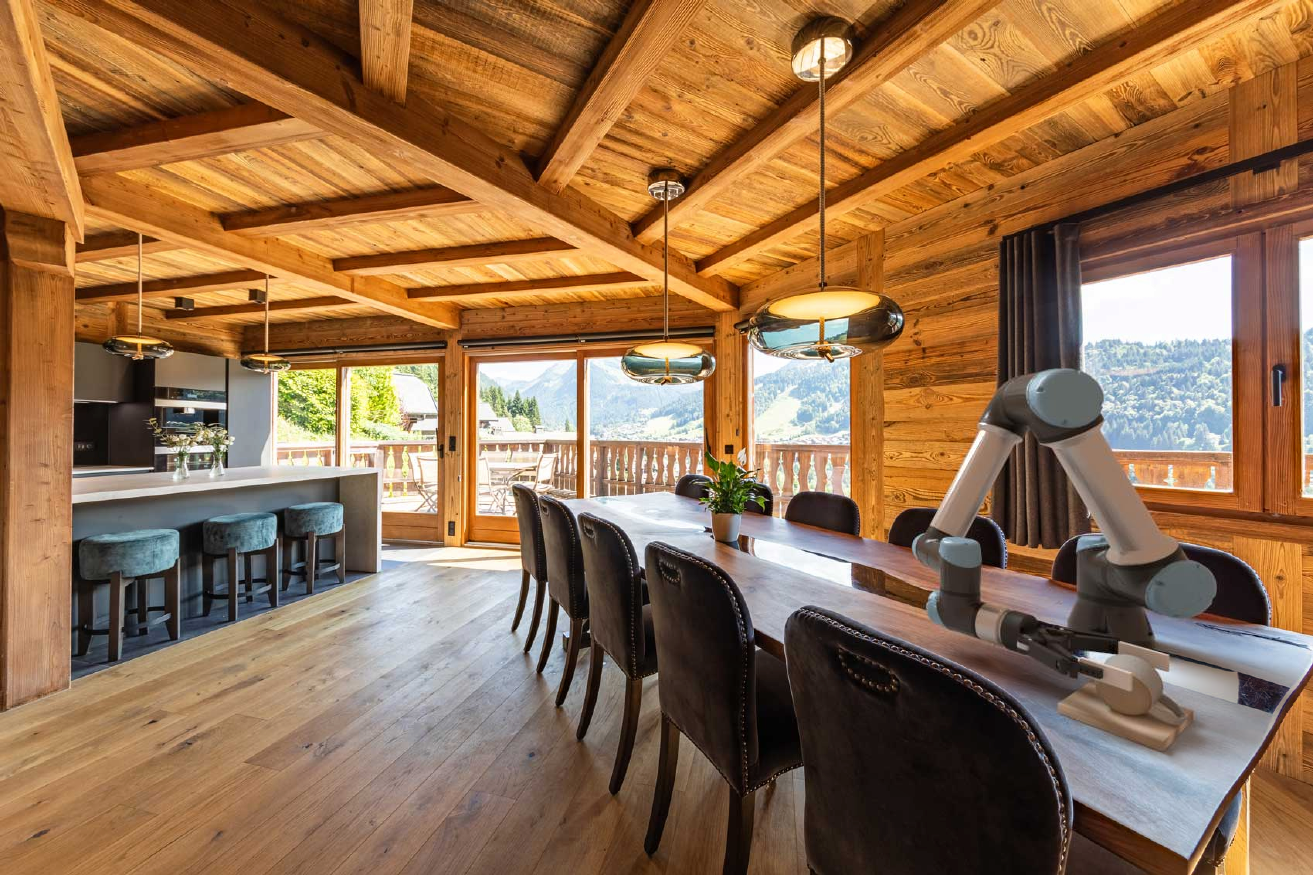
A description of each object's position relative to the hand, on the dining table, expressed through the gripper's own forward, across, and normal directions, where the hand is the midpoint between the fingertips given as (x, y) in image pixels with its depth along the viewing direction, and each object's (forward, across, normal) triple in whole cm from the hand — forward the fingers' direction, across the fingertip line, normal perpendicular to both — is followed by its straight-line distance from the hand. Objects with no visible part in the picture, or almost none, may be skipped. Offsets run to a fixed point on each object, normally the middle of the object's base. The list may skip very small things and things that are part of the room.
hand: (1150, 672), depth 84 cm
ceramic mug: (-2, 0, -7) cm, 7 cm away
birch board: (-3, 0, -8) cm, 9 cm away
